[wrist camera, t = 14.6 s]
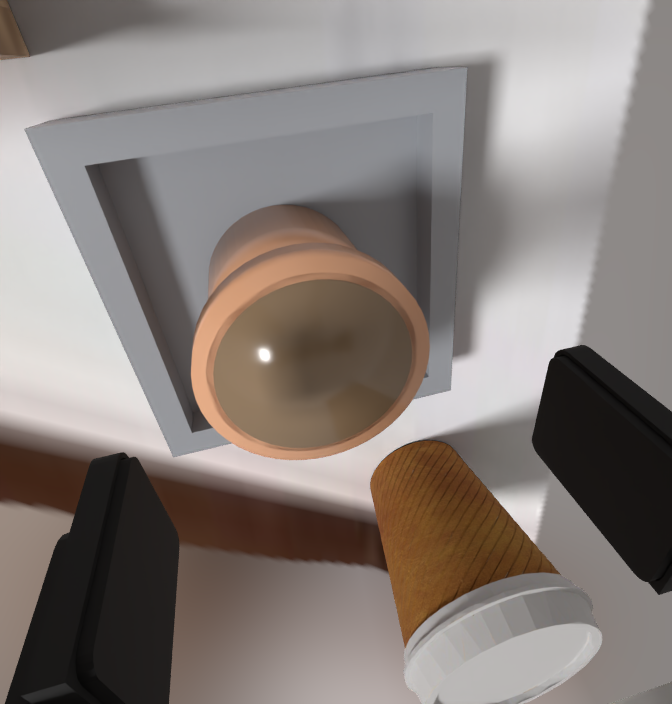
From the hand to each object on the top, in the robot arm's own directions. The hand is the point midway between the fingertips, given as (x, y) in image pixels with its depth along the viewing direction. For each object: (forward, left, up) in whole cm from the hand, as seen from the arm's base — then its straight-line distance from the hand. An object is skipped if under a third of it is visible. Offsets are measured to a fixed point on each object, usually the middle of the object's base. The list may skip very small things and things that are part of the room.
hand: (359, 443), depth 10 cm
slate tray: (+1, 0, -12) cm, 12 cm away
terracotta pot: (0, 0, -11) cm, 11 cm away
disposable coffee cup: (+17, +6, -12) cm, 21 cm away
